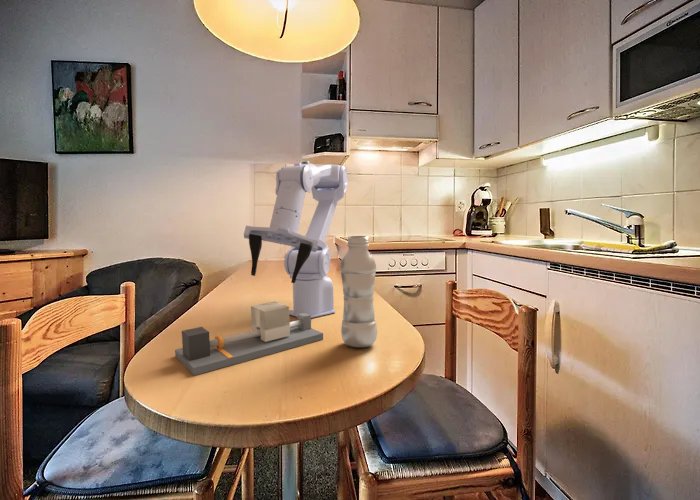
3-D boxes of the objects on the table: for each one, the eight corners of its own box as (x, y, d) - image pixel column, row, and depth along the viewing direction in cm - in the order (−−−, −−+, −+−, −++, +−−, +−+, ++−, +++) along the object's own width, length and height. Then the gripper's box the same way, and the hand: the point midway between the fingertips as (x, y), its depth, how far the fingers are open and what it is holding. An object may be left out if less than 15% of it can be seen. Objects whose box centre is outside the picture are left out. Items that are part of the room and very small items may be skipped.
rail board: (295, 327, 78) (295, 303, 77) (323, 339, 70) (322, 312, 69) (175, 356, 62) (173, 326, 62) (194, 375, 55) (192, 342, 54)
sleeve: (275, 328, 72) (274, 301, 71) (289, 335, 68) (289, 306, 67) (252, 334, 69) (250, 306, 68) (265, 341, 65) (264, 311, 64)
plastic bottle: (366, 354, 62) (365, 238, 60) (333, 347, 66) (332, 237, 64) (383, 343, 68) (383, 235, 66) (352, 337, 71) (351, 235, 69)
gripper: (250, 198, 70) (233, 263, 65) (324, 214, 72) (313, 278, 67) (251, 215, 76) (235, 275, 71) (318, 229, 79) (308, 289, 73)
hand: (273, 277), depth 69 cm, fingers open, 7 cm apart
